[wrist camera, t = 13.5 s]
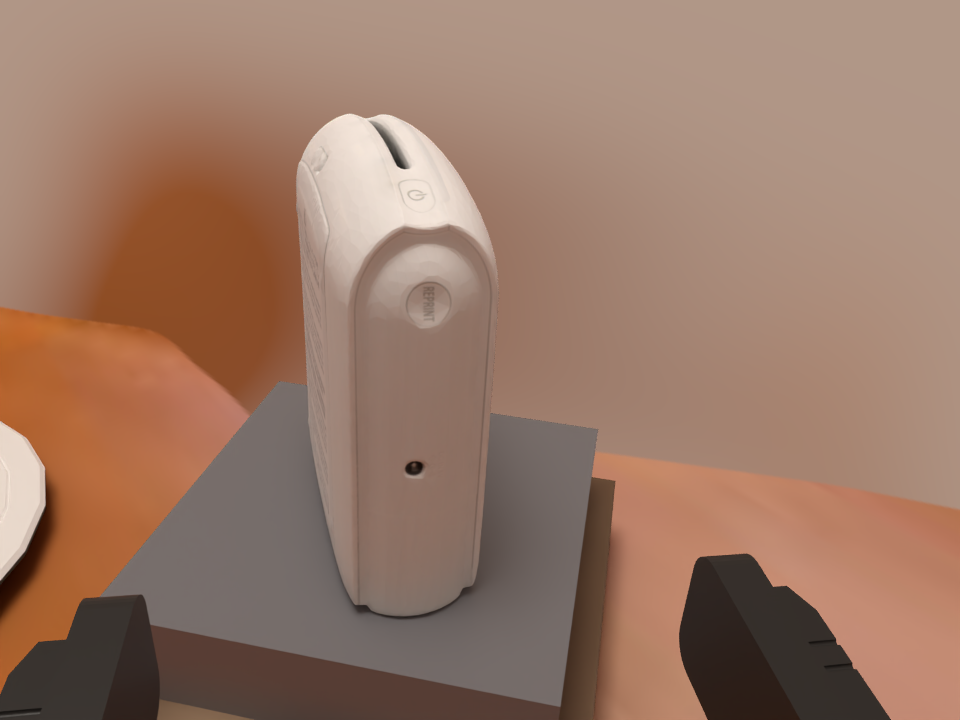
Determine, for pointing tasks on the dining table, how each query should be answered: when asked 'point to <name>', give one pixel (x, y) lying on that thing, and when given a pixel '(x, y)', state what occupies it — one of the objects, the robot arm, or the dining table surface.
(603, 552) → the base brick
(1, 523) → the plate
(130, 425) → the dining table surface
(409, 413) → the photo printer
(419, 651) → the top brick
